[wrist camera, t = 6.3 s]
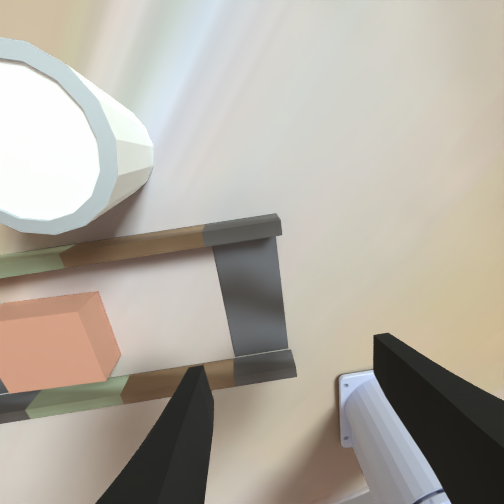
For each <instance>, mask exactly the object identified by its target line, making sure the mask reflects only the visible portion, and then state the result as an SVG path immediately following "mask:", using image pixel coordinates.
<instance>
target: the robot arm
mask: <svg viewBox="0 0 504 504" xmlns="http://www.w3.org/2000/svg"><path fill="white" fill-rule="evenodd" d="M339 410H340V442H341V445H342V447H344V448H349V447H353V450H354V452H355V455H356V457H357V460H358V462H359V465H360V467H361V470H362V472H363V475H364V477H365V480H366V482H367V485H368V487H369V490H370V492H371V494H372V497H373V499H374V502H375V504H504V400H502V399H499V398H497V397H495V396H493V395H491V394H490V393H488V392H486V391H484V390H482V389H480V388H478V387H476V386H475V385H473V384H471V383H469V382H467V381H466V380H464V379H462V378H460V377H458V376H457V375H455V374H453V373H452V372H450V371H448V370H446V369H445V368H443V367H442V366H440V365H438V364H437V363H435V362H433V361H432V360H430V359H429V358H427V357H425V356H424V355H422V354H421V353H419V352H417V351H416V350H414V349H413V348H411V347H410V346H408V345H407V344H405V343H404V342H402V341H400V340H399V339H397V338H396V337H394V336H393V335H391V334H389V333H383V334H378V335H374V346H373V370H369V371H363V372H356V373H350V374H344V375H341V376H340V377H339ZM213 420H214V399H213V396H212V393H211V389H210V386H209V382H208V379H207V376H206V372H205V369H204V365H199V366H194V367H189V368H188V369H187V371H186V373H185V374H184V376H183V378H182V380H181V382H180V384H179V385H178V387H177V389H176V391H175V392H174V394H173V396H172V398H171V399H170V401H169V403H168V404H167V406H166V407H165V409H164V411H163V412H162V414H161V416H160V417H159V419H158V420H157V422H156V424H155V425H154V427H153V428H152V430H151V431H150V433H149V434H148V436H147V437H146V439H145V440H144V442H143V443H142V444H141V446H140V447H139V449H138V450H137V451H136V453H135V454H134V456H133V457H132V458H131V460H130V461H129V462H128V464H127V465H126V466H125V468H124V469H123V470H122V472H121V473H120V474H119V475H118V477H117V478H116V479H115V480H114V482H113V483H112V484H111V485H110V486H109V488H108V489H107V490H106V491H105V493H104V494H103V495H102V496H101V497H100V499H99V500H98V501H97V502H96V503H95V504H204V501H205V491H206V483H207V475H208V467H209V459H210V451H211V443H212V435H213Z"/></svg>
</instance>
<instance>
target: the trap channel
mask: <svg viewBox="0 0 504 504" xmlns="http://www.w3.org/2000/svg"><path fill="white" fill-rule="evenodd" d="M279 235H282V229H281V220H280V218H279V217H278V216H277V214H276V213H275V214H269V215H262V216H256V217H249V218H243V219H236V220H230V221H223V222H217V223H210V224H204V225H197V226H190V227H184V228H177V229H171V230H164V231H158V232H151V233H145V234H138V235H132V236H125V237H118V238H112V239H105V240H99V241H92V242H86V243H79V244H73V245H66V246H60V247H53V248H47V249H40V250H33V251H27V252H20V253H14V254H7V255H1V256H0V278H6V277H12V276H19V275H26V274H32V273H39V272H45V271H52V270H58V269H65V268H71V267H78V266H84V265H91V264H97V263H104V262H110V261H117V260H123V259H130V258H136V257H143V256H149V255H156V254H162V253H169V252H175V251H182V250H188V249H195V248H201V247H208V246H213V251H214V255H215V260H216V265H217V270H218V275H219V280H220V284H221V289H222V294H223V299H224V304H225V309H226V313H227V318H228V323H229V328H230V333H231V338H232V342H233V347H234V352H235V357H236V356H243V355H249V354H255V353H262V352H268V351H274V350H281V349H287V348H288V341H287V332H286V323H285V314H284V305H283V297H282V288H281V279H280V270H279V261H278V252H277V244H276V236H279ZM199 365H204V369H205V372H206V376H207V379H208V382H209V386H210V389H211V390H217V389H223V388H229V387H236V386H242V385H248V384H255V383H261V382H267V381H274V380H280V379H286V378H293V377H297V373H296V366H295V362H294V359H293V355H292V352H291V350H285V351H278V352H272V353H266V354H259V355H253V356H247V357H240V358H234V359H228V360H221V361H215V362H209V363H202V364H196V365H190V366H183V367H177V368H170V369H164V370H158V371H151V372H145V373H139V374H132V375H126V376H120V377H113V378H107V380H106V381H102V382H95V383H87V384H79V385H72V386H64V387H57V388H49V389H41V390H34V391H26V392H18V393H12V394H5V395H0V424H2V423H9V422H15V421H21V420H28V419H34V418H40V417H46V416H53V415H59V414H65V413H72V412H78V411H84V410H91V409H97V408H103V407H110V406H116V405H122V404H129V403H135V402H141V401H147V400H154V399H160V398H166V397H172V396H173V394H174V392H175V391H176V389H177V387H178V385H179V384H180V382H181V380H182V378H183V376H184V374H185V373H186V371H187V369H188V368H189V367H194V366H199ZM1 393H8V390H7V388H6V387H5V385H4V383H3V382H2V380H1V378H0V394H1Z"/></svg>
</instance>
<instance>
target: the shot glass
mask: <svg viewBox="0 0 504 504" xmlns="http://www.w3.org/2000/svg"><path fill="white" fill-rule="evenodd" d="M153 166H154V153H153V145H152V142H151V140H150V137H149V135H148V132H147V130H146V128H145V127H144V126H143V124H142V123H141V122H140V121H139V120H138V119H137V118H136V116H135V115H134V114H133V113H132V112H131V111H129V110H128V109H127V108H125V107H124V106H123V105H121V104H120V103H118V102H117V101H116V100H114V99H113V98H112V97H110V96H109V95H108V94H106V93H105V92H103V91H102V90H101V89H99V88H98V87H97V86H95V85H94V84H93V83H91V82H90V81H88V80H87V79H86V78H84V77H83V76H82V75H80V74H79V73H78V72H76V71H75V70H74V69H72V68H71V67H69V66H68V65H67V64H65V63H63V62H61V61H60V60H58V59H56V58H54V57H53V56H51V55H49V54H47V53H46V52H44V51H42V50H40V49H39V48H37V47H35V46H33V45H32V44H30V43H28V42H26V41H22V40H15V39H8V38H1V37H0V223H1V224H3V225H6V226H8V227H10V228H13V229H15V230H17V231H20V232H26V233H38V234H50V235H57V234H60V233H63V232H67V231H70V230H73V229H76V228H80V227H83V226H86V225H87V224H89V223H90V222H92V221H93V220H95V219H96V218H98V217H99V216H100V215H102V214H103V213H105V212H106V211H108V210H109V209H111V208H112V207H114V206H115V205H117V204H118V203H120V202H121V201H123V200H124V199H126V198H127V197H129V196H130V195H132V194H133V193H135V192H136V191H137V190H138V189H139V188H140V187H141V186H143V185H144V184H145V183H146V182H147V181H148V178H149V176H150V173H151V171H152V168H153Z"/></svg>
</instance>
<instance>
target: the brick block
mask: <svg viewBox="0 0 504 504" xmlns="http://www.w3.org/2000/svg"><path fill="white" fill-rule="evenodd" d="M120 356H121V353H120V350H119V347H118V344H117V342H116V339H115V336H114V333H113V331H112V328H111V325H110V322H109V319H108V317H107V314H106V311H105V308H104V306H103V303H102V300H101V297H100V295H99V292H98V291H96V292H88V293H80V294H72V295H64V296H56V297H48V298H40V299H32V300H24V301H16V302H8V303H3V304H2V305H0V378H1V380H2V382H3V383H4V385H5V387H6V388H7V390H8V392H9V393H10V394H11V393H18V392H26V391H34V390H41V389H49V388H57V387H64V386H72V385H79V384H87V383H95V382H102V381H106V380H107V378H108V377H109V375H110V373H111V371H112V370H113V368H114V366H115V364H116V363H117V361H118V359H119V358H120Z"/></svg>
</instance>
